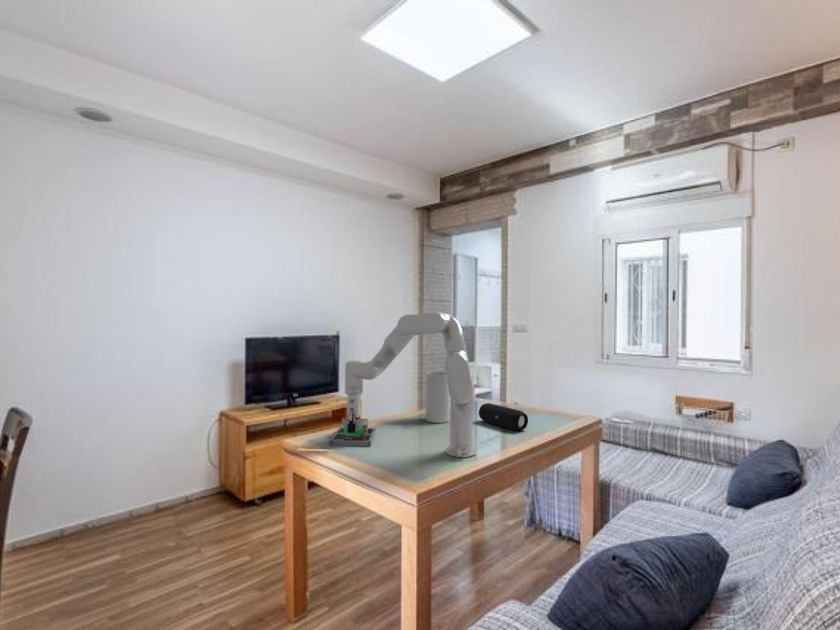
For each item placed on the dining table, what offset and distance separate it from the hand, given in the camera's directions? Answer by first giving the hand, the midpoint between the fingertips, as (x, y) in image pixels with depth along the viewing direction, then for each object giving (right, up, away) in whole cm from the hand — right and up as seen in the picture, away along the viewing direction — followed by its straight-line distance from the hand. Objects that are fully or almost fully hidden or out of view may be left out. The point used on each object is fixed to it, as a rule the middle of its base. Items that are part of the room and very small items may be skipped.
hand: (353, 429), depth 194 cm
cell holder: (0, -6, +5) cm, 8 cm away
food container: (0, -6, -1) cm, 6 cm away
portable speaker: (+71, -8, +38) cm, 81 cm away
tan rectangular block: (0, -5, +10) cm, 11 cm away
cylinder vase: (+38, -7, +45) cm, 59 cm away
